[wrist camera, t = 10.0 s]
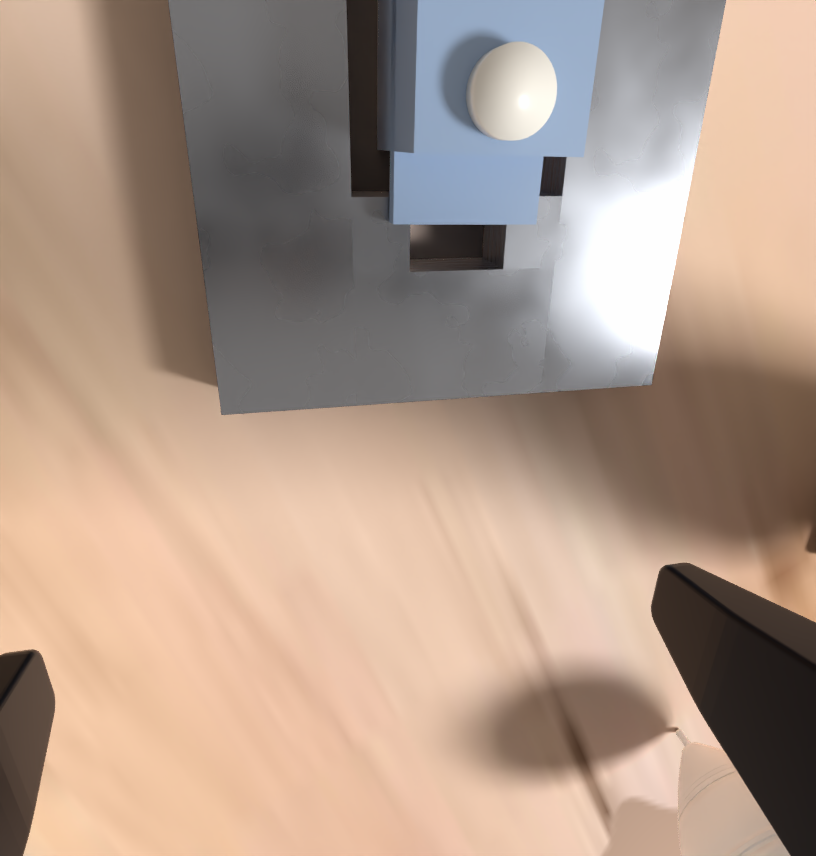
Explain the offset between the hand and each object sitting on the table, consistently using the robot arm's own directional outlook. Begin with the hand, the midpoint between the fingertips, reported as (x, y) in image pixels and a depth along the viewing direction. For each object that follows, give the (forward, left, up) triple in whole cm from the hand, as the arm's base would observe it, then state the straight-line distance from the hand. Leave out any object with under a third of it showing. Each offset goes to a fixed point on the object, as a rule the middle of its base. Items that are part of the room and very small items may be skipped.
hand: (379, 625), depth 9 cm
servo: (-4, -9, -12) cm, 16 cm away
